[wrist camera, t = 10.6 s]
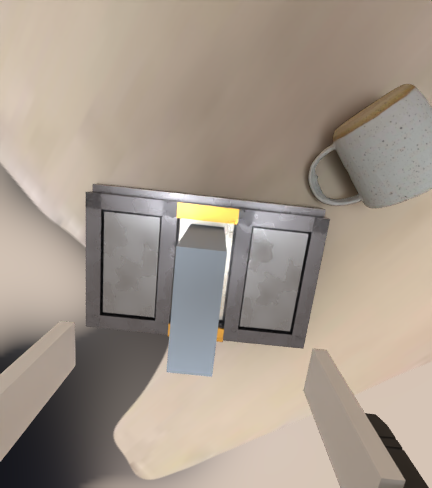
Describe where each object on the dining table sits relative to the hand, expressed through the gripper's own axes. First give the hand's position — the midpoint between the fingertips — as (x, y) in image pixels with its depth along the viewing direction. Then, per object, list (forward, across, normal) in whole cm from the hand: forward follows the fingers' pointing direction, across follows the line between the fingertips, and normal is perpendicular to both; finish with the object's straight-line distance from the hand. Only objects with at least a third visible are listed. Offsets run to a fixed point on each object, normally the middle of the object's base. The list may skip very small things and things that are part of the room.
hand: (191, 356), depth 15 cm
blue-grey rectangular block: (+15, 0, 0) cm, 15 cm away
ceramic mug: (+17, +14, +13) cm, 25 cm away
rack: (+16, 0, 0) cm, 16 cm away
